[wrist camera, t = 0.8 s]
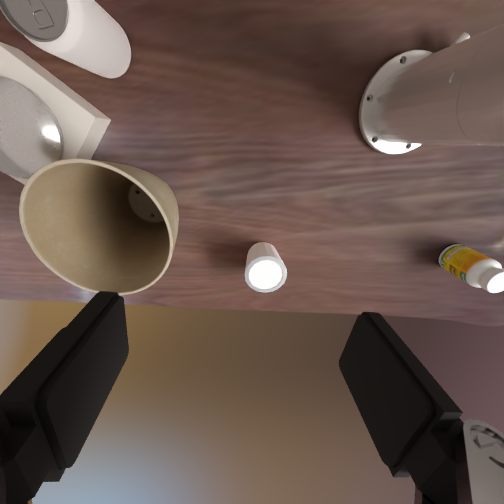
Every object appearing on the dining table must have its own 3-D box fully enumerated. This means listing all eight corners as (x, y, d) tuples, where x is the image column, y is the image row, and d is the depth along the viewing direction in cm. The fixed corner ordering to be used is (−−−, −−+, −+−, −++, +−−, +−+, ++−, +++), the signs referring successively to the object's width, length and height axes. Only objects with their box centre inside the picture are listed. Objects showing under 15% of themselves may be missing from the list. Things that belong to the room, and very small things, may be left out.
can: (118, 8, 28) (43, -73, 17) (140, 72, 31) (88, 37, 20) (68, 21, 29) (-36, -49, 18) (95, 84, 31) (18, 56, 21)
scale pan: (-15, 52, 26) (-32, 46, 24) (83, 124, 29) (74, 124, 28) (-40, 137, 29) (-57, 137, 28) (51, 193, 33) (41, 196, 31)
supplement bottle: (470, 253, 46) (524, 280, 37) (446, 272, 47) (492, 302, 39) (456, 237, 44) (509, 262, 35) (431, 258, 46) (476, 285, 37)
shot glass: (242, 270, 45) (243, 292, 39) (245, 237, 42) (245, 255, 36) (278, 272, 45) (284, 293, 39) (282, 239, 43) (290, 257, 36)
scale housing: (16, 46, 29) (-15, 34, 26) (111, 119, 33) (95, 117, 30) (-16, 143, 34) (-47, 144, 30) (71, 198, 38) (53, 204, 34)
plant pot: (147, 128, 34) (79, 120, 20) (216, 207, 39) (202, 246, 25) (83, 192, 37) (-15, 226, 23) (154, 256, 43) (111, 316, 29)
